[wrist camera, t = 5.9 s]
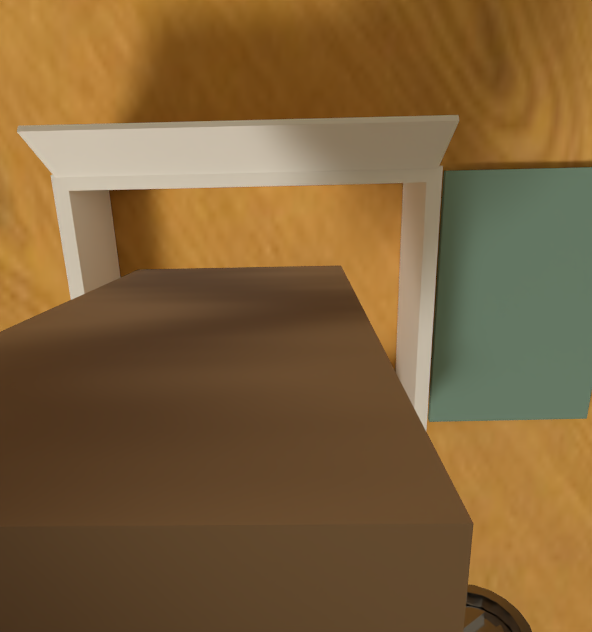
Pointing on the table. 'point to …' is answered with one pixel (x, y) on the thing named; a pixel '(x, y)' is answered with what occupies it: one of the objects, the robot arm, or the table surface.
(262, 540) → the walnut box
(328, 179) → the carton
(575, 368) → the pad
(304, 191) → the table surface
